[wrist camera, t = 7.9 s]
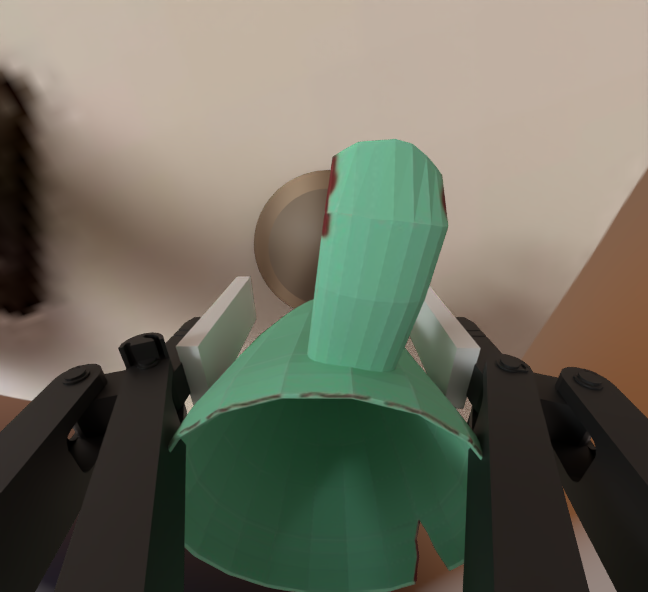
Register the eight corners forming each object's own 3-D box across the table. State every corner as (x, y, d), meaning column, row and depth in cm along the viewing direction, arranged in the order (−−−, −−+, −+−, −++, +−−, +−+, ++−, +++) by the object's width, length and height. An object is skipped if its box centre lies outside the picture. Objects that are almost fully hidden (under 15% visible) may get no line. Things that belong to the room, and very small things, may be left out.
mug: (389, 398, 19) (439, 608, 10) (249, 382, 19) (171, 581, 10) (460, 169, 13) (771, 175, 4) (252, 140, 12) (36, 69, 3)
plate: (264, 312, 27) (262, 317, 26) (247, 171, 22) (243, 171, 21) (393, 312, 27) (396, 317, 26) (410, 168, 21) (413, 169, 21)
